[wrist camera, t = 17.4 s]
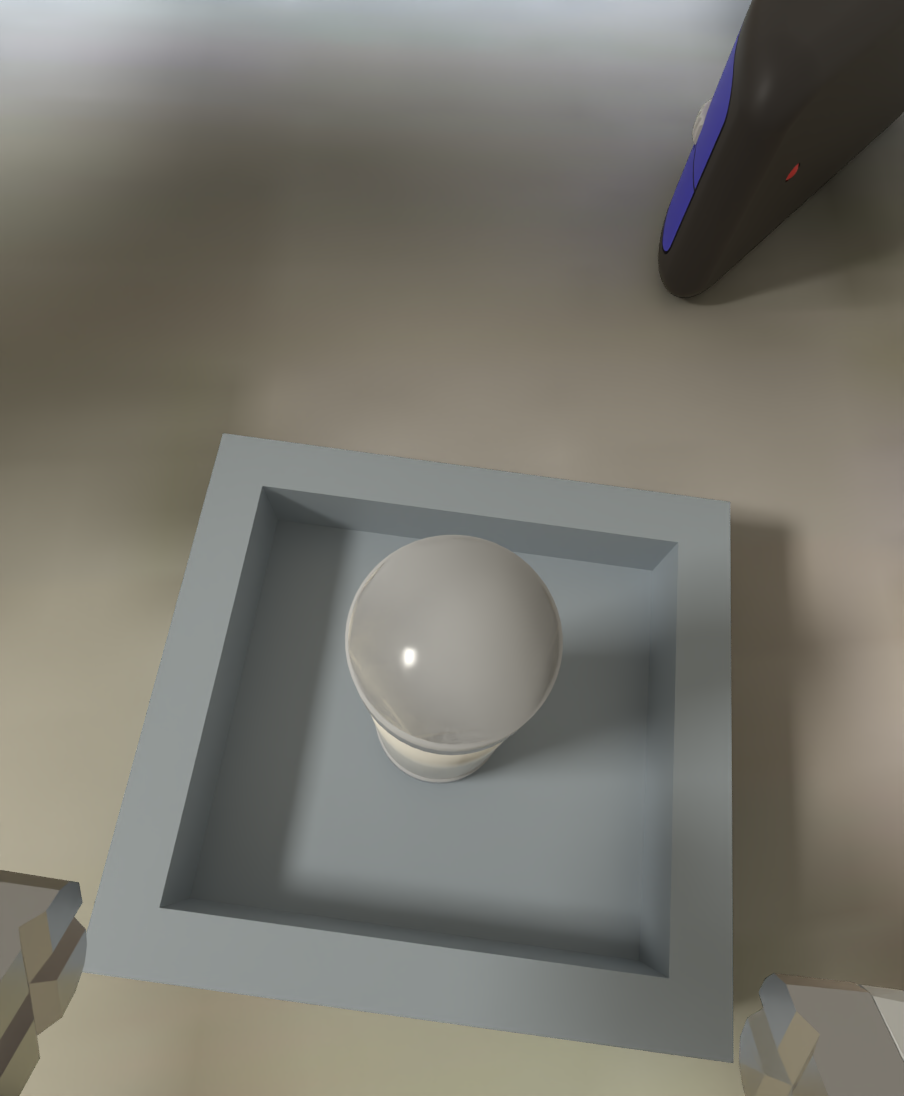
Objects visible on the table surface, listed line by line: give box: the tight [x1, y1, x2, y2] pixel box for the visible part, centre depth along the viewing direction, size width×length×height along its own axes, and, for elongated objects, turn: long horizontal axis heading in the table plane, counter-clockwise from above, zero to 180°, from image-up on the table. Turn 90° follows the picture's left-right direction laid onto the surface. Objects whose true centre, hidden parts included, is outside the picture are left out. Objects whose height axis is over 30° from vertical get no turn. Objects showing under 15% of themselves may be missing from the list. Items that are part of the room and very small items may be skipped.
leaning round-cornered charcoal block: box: [658, 0, 904, 297], centre depth 27 cm, size 16×5×9 cm, turn 135°
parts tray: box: [82, 433, 733, 1063], centre depth 21 cm, size 15×14×4 cm
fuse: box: [345, 535, 563, 784], centre depth 17 cm, size 4×4×10 cm
